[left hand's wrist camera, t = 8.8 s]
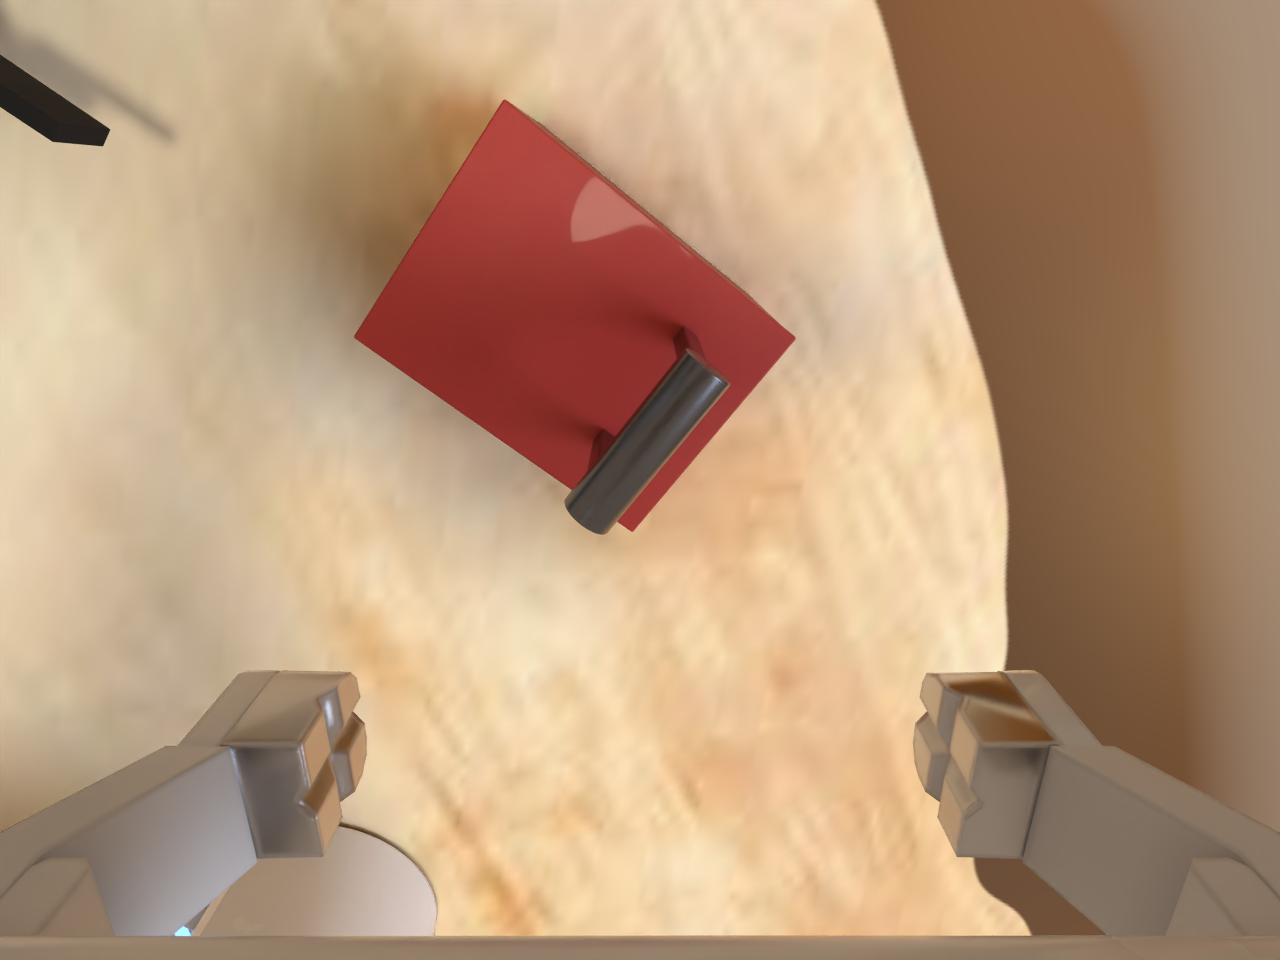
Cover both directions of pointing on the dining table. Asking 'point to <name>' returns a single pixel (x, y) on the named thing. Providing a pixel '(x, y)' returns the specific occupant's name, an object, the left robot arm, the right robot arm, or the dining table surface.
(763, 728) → the dining table surface
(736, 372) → the lid
